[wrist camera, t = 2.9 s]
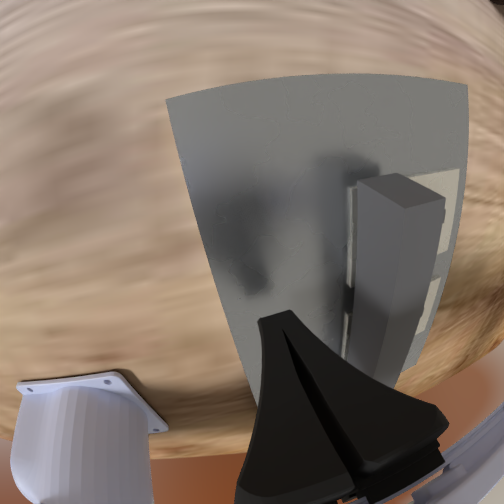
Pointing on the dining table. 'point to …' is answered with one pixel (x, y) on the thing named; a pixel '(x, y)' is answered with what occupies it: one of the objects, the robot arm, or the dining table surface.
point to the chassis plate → (312, 190)
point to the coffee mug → (498, 2)
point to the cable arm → (392, 270)
